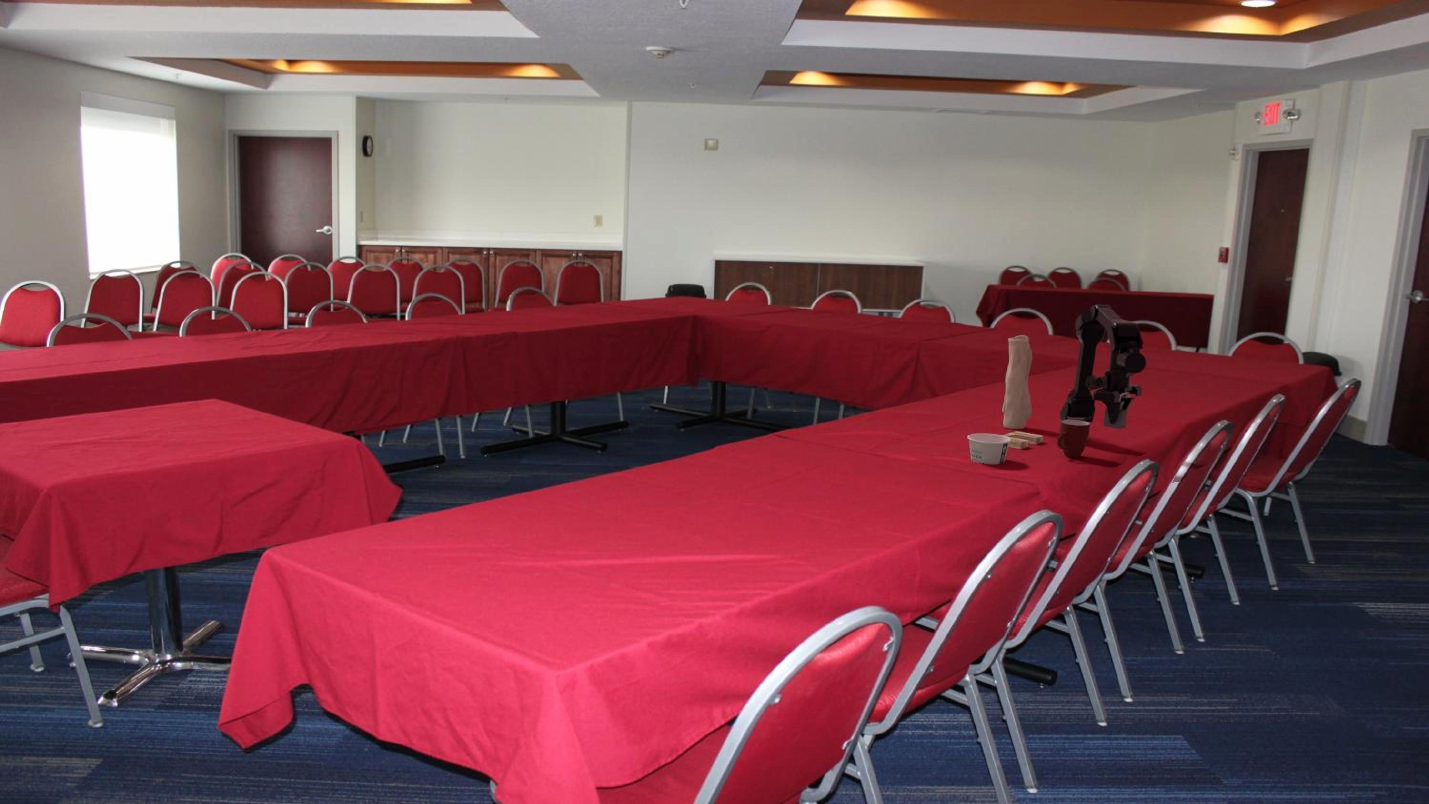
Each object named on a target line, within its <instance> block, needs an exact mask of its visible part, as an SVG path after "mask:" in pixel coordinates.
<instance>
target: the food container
mask: <svg viewBox="0 0 1429 804" xmlns="http://www.w3.org/2000/svg"><path fill="white" fill-rule="evenodd" d="M1002 435H1003V434H1002ZM1002 435H1001V434H996V433H995V434H994V433H972V434H968V435H967V439H968V442H969V443H968V444H969V451H970V460H971V461H972V460H973V461H972V462H974V463H978V464H983V463H984V464H985V465H1001V464H1004V463H1005V461H1006V458H1007V453H1008V450H1009V447H1008V446H1009V442H1011V439H1010V438H1008V437H1006V436H1002Z"/></svg>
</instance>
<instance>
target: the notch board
mask: <svg viewBox="0 0 1429 804" xmlns="http://www.w3.org/2000/svg"><path fill="white" fill-rule="evenodd" d="M1002 436H1006V437H1008V438H1010V439H1011V442H1009V446H1008V448H1012V449H1017V450H1023V449H1027V448H1028V446H1029V445H1030V444H1032V445H1038V444H1041V443H1043V442H1044V441H1043V440H1044V435H1040V434H1033V433H1027V432H1023V431H1018V430H1015V431H1013V432H1012V431H1011V432H1009V433H1005V434H1002ZM1028 444H1029V445H1028Z"/></svg>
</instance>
